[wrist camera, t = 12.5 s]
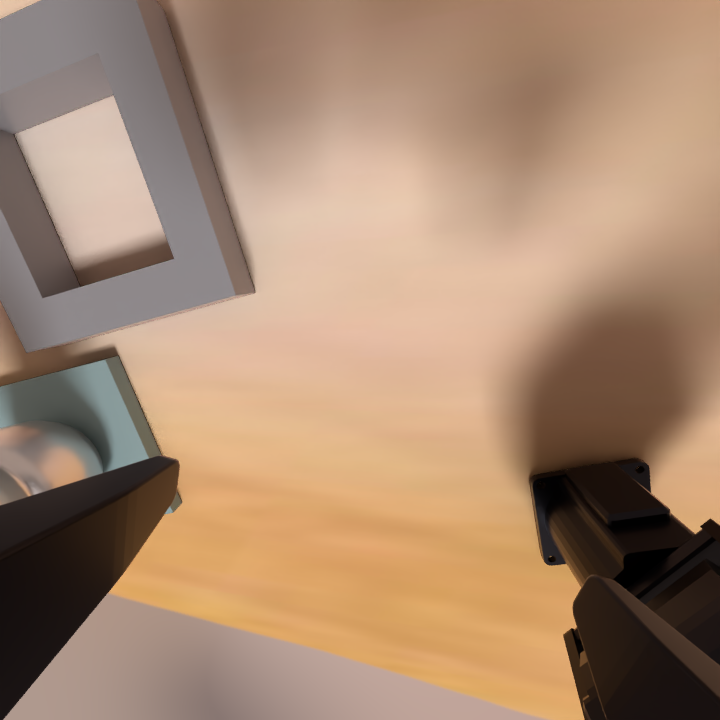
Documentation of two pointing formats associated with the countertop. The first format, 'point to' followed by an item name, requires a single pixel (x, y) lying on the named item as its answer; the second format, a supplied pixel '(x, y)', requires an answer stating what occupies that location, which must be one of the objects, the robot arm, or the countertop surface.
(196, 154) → the pocket holder
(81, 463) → the plastic bottle
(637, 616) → the robot arm
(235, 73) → the countertop surface
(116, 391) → the coaster
